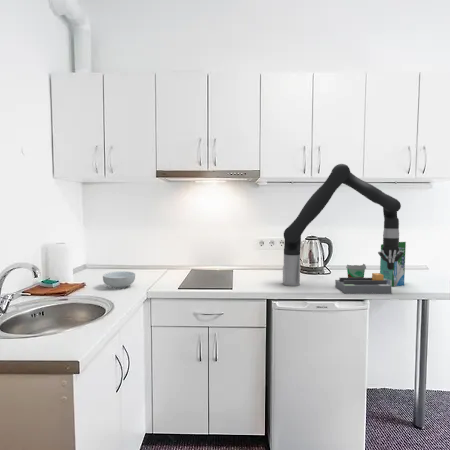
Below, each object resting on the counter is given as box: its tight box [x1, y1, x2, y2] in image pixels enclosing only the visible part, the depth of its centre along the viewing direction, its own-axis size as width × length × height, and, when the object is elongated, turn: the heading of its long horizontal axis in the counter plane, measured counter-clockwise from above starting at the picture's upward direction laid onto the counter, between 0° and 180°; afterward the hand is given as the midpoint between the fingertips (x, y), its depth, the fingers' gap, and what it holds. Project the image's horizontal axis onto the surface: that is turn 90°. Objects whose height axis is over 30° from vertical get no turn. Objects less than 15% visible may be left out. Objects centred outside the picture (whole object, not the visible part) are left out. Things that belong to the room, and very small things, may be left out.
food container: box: [345, 263, 367, 278], centre depth 195 cm, size 12×6×10 cm, turn 105°
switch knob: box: [371, 272, 384, 280], centre depth 175 cm, size 4×4×4 cm
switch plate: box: [334, 277, 392, 295], centre depth 175 cm, size 24×14×6 cm, turn 90°
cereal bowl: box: [102, 270, 136, 290], centre depth 181 cm, size 17×17×7 cm
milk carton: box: [379, 241, 407, 287], centre depth 189 cm, size 9×9×25 cm
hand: (390, 269), depth 175 cm, fingers closed
